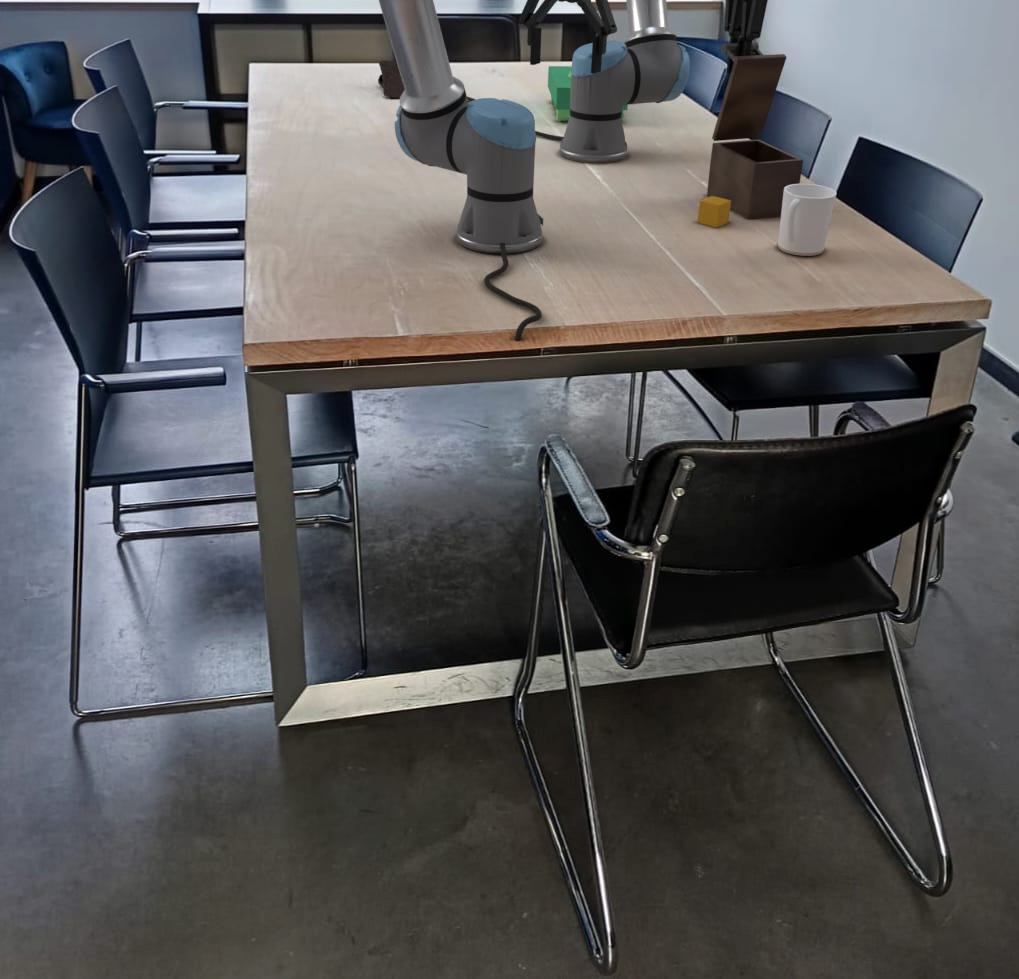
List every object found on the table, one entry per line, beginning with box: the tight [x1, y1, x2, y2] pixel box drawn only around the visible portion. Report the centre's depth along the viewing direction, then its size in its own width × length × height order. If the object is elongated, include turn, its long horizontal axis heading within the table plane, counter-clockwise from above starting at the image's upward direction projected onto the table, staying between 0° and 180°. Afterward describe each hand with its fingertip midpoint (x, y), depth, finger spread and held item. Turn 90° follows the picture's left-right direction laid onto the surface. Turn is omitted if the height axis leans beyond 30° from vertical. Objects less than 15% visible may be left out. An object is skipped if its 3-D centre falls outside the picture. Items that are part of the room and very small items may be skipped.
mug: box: [777, 183, 837, 257], centre depth 191 cm, size 11×9×10 cm
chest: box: [706, 138, 804, 220], centre depth 215 cm, size 16×10×10 cm, turn 20°
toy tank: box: [547, 65, 629, 122], centre depth 283 cm, size 18×12×35 cm
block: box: [697, 196, 731, 228], centre depth 206 cm, size 4×4×4 cm
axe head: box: [377, 59, 405, 99], centre depth 299 cm, size 18×8×15 cm
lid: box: [711, 41, 787, 142], centre depth 214 cm, size 17×10×9 cm
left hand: (565, 68), depth 214 cm, fingers open, 13 cm apart
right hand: (736, 73), depth 214 cm, fingers closed on lid, 2 cm apart
